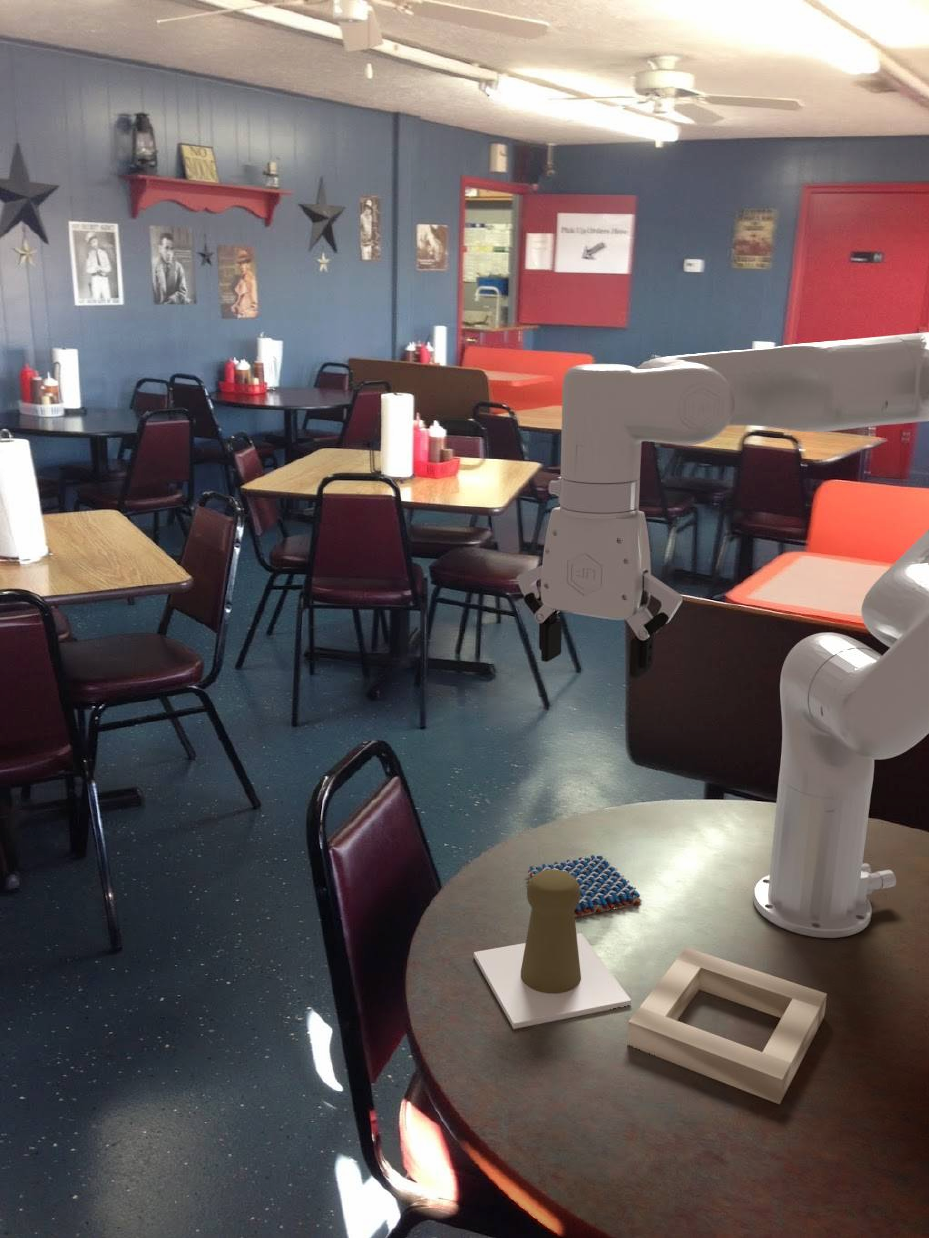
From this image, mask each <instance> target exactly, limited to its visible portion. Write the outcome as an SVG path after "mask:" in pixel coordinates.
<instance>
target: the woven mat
mask: <svg viewBox="0 0 929 1238" xmlns="http://www.w3.org/2000/svg"><path fill="white" fill-rule="evenodd" d="M611 864H612V862H609V861H608V860H607V858H606V857H603V855H597V856H595V855H594V854H592V855H590V857H585V858H584V859H583V858H582V857H578V860H577V859H575V860H574V859H573V860H572V861H570V859H567V860H566V861H565V862H564V861H562V862H560V863H558V861H555V862H554V863H553V864H547V866H546V864H545V863H542V864H541V866H536V867H535V868H534V866H533V865H532V866H529V869H528V873H527V876H528V877H525V880H528V882H529V881H530V879H531V878H532V877H533V875H535V874H536V873H537V872H540V871H543V870H549V869H556V870H562V871H565V872H567V873H570V874H571V875H572V876H574V877H575V879H576V880H577V882H578V883H579V887H580V901H579V904H578V906H577V908H576V909H575V910H574V915H575V918H576V917H582V916H588V915H591V914H592V913H593V914H595V913H596V914H598V913H602V912H607V911H611V910H610V909H612V910H616V908H617V909H620V907H622V908H626V907H632V906H633V905H634V906H639V905H640V904H641V903H642V902H643V901H642V898H640V897H641V894H639V892H638V891H637V890H636V889H637V888H636V887H635V886H632V885H630V884H629V883H630V880H627V879H625V876H624V875H623V874H622V875H621V873H620V872H619V871H618V868H615V867H614V866H612V865H611ZM631 905H632V906H631ZM625 906H626V907H625ZM614 908H615V909H614ZM604 910H605V911H604ZM606 910H607V911H606ZM595 911H596V912H595Z"/></svg>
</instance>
